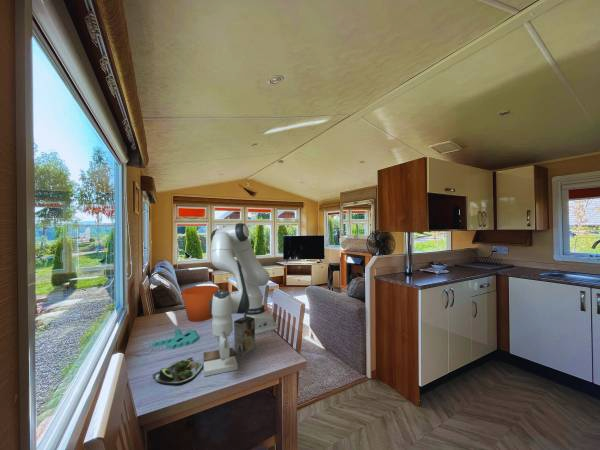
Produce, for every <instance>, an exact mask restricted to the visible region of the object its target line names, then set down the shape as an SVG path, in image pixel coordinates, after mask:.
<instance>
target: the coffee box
mask: <svg viewBox="0 0 600 450" xmlns="http://www.w3.org/2000/svg"><path fill="white" fill-rule="evenodd" d="M233 330H234V331H233V335H234V337H233V339H234V344H233V346H234V347H233V351H234V353H237V354H239V355H242V356H244V355H245V354H247V353H249V352H250V351H252V350H254V349H256V334H255V318H252V317H248V316H245V317H244V316H243V317H240V318H238V319H236V320H235V321H233Z"/></svg>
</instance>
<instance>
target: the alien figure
mask: <svg viewBox="0 0 600 450" xmlns="http://www.w3.org/2000/svg"><path fill="white" fill-rule="evenodd" d="M173 333H174V335H175V336H173V337H171V338H166V339H165V340H164V339H163V340H162V339H160V340H159V341H153V342H152V343H151V347H152V348H155V347H157V345H158V346H163V345H165V348H166V349H170V348H171V349H172V350H174V349H176V348H181V347H183V346H184V345H186V346H188V345H193V344H195V343H196V342H197V341H199V340H200V335H199V333H198V332H197V330H196V329H188V330H187V331H186V332H183V333H182V332H181V329H180V328H175V329H174V330H173ZM198 339H199V340H198ZM194 342H195V343H194ZM187 344H188V345H187ZM171 349H170V350H171Z"/></svg>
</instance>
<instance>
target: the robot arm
mask: <svg viewBox="0 0 600 450" xmlns="http://www.w3.org/2000/svg"><path fill="white" fill-rule="evenodd" d="M249 236H250V231H249V228H248V226H247V225H246V224H245V223H243V222H238V223H233V224H229V225H226V226H223V227H220V228H216V229H214V230H212V232H211V234H210V241H211V245H210V263H211V264H212V265H213V267H214V268H216V269H217V270H219V271H223V272H226V273H229V274H231V275H233V276H234V278H235V279H234V280H235V283H236V287H237V288H236V289H237V292H232V293H231V292H230V291H228V290H225V289H224V290H218V291H217V292H215V293H214V294H213V297H212V299H211V300H210V302H209V304H210V313H211V314H212V321H211V334H212V335H213V336H214V337H215V339H216V343H217V347H218V350H219V353H220V358H221V361H223V360H225V359H226V358H229V356H230V351H229V348H230V339H229V336H230V335H231V334H232V333H233V332H234V331H233V330H234V321H233V318H232V315H235V314H239V315H242V314H243V317H245V316H248V317H252V318H255V335H258V334H262V333H263V334H264V333H267V332H271V331H276V330H277V329H279V326H278V323H277V322H276V321H275V319H274V316H273V315H272V314H270V313H269V312H268V308H267V306H265V305H264V304H263V292H262V291H261V289H260V287H262V286H263V287H264V286H266V285H267V284H268V283H269V281H270V273H269V271H268V270H266V269H265V267H264V266H263V265H262V263H261V262H260V260H259V259H258V257H257V256H256V254H255V252H254V248H253V246H252V244H251V241H250V240H249ZM234 255H235V256H234Z"/></svg>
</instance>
